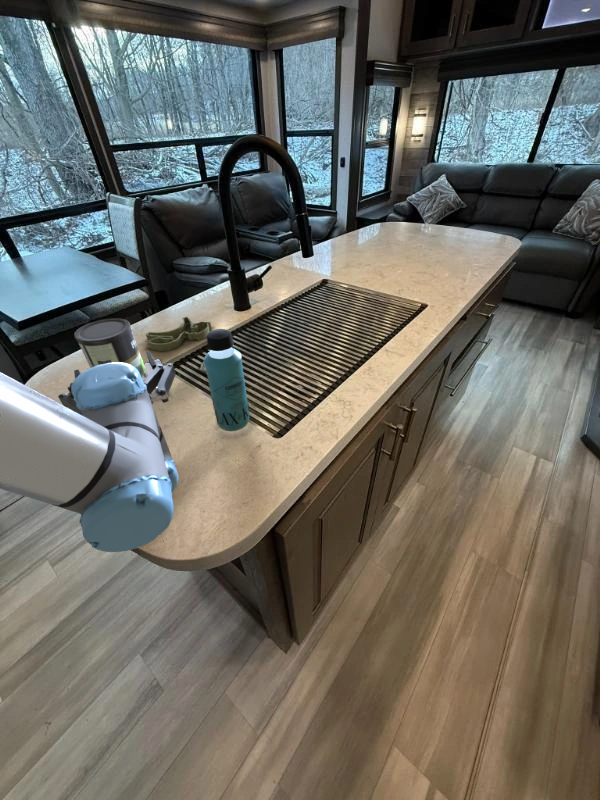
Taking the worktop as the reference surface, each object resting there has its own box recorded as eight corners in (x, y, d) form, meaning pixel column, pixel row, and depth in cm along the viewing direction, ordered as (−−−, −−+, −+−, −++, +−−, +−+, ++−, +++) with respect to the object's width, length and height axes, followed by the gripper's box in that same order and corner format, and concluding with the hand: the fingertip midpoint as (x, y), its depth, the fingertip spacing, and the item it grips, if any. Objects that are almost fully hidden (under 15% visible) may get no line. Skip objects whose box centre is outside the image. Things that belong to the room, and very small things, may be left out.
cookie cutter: (192, 320, 103) (191, 314, 101) (218, 330, 97) (217, 324, 96) (140, 342, 92) (137, 336, 90) (165, 356, 86) (163, 349, 85)
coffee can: (143, 368, 81) (123, 313, 72) (155, 388, 75) (135, 331, 66) (97, 382, 77) (70, 326, 68) (106, 405, 70) (77, 346, 61)
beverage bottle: (210, 429, 64) (187, 336, 52) (234, 410, 68) (218, 320, 56) (235, 442, 61) (217, 347, 49) (258, 422, 65) (247, 330, 53)
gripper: (57, 470, 52) (55, 399, 66) (209, 415, 62) (179, 364, 76) (32, 436, 47) (36, 367, 62) (202, 383, 57) (171, 334, 72)
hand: (115, 365), depth 69 cm, fingers open, 13 cm apart
